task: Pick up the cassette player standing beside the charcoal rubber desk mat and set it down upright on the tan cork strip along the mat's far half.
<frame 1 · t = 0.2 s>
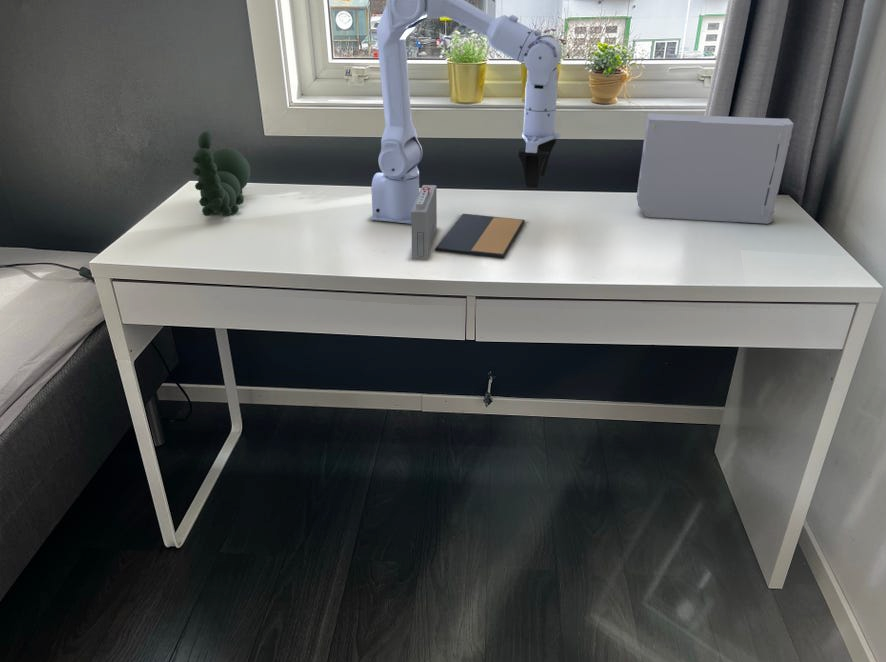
hand: (535, 181, 146), 10 cm above the table, tool pointing down, fingers open, 7 cm apart
game console: (701, 217, 158), on the table
cassette player: (424, 244, 145), on the table
toy figurine: (226, 208, 163), on the table
desk mat: (481, 236, 148), on the table
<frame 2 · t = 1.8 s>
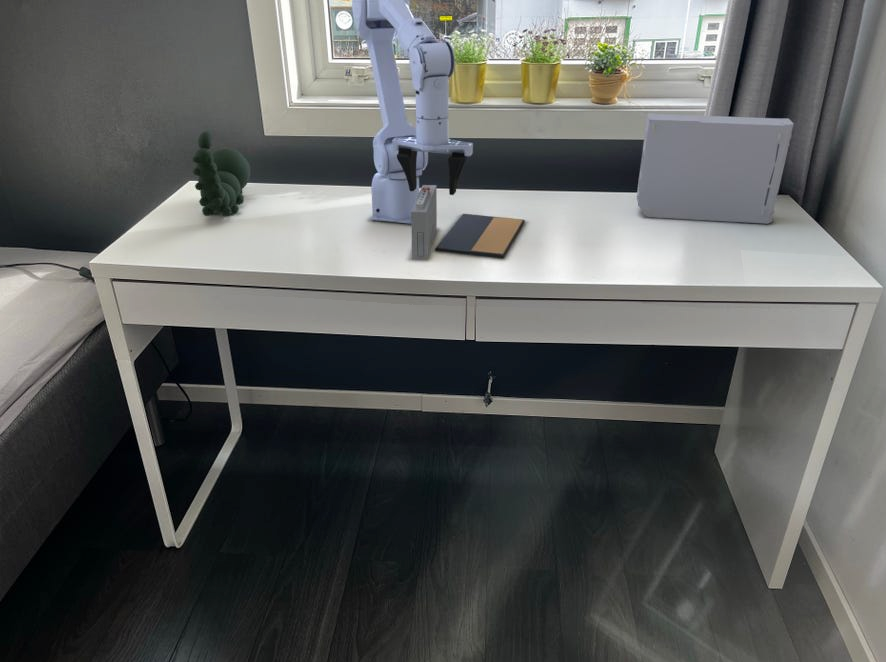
hand: (432, 191, 140), 10 cm above the table, tool pointing down, fingers open, 7 cm apart
nothing on the table moved.
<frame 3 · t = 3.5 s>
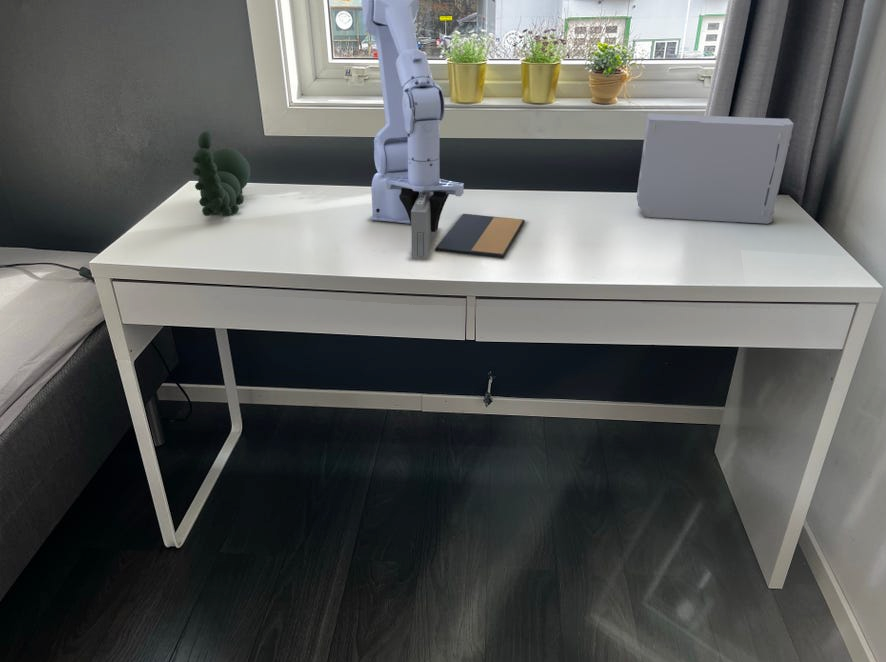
hand: (424, 229, 143), 3 cm above the table, tool pointing down, fingers closed on cassette player, 3 cm apart
cassette player: (425, 244, 145), on the table, touching gripper
everything else where it was.
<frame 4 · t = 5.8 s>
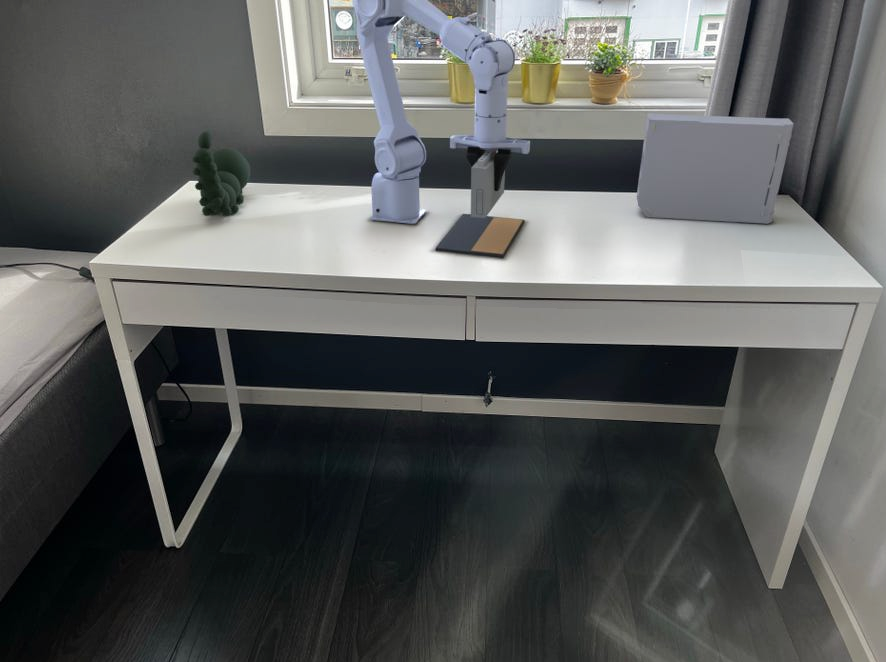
hand: (488, 188, 142), 10 cm above the table, tool pointing down, fingers closed on cassette player, 3 cm apart
cassette player: (488, 205, 144), point 7 cm above the table, touching gripper
everything else where it was.
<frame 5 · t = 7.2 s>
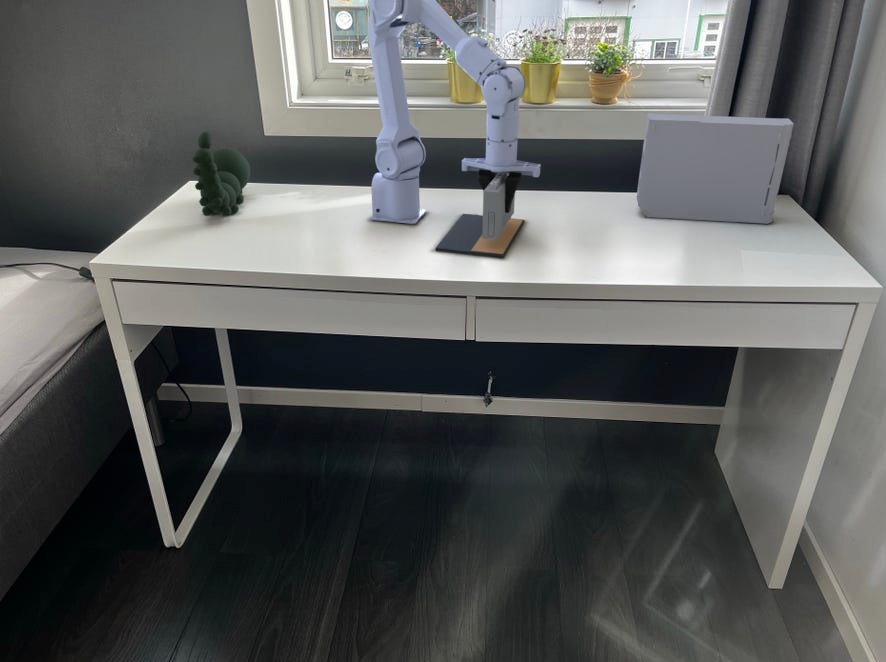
hand: (499, 210, 145), 6 cm above the table, tool pointing down, fingers closed on cassette player, 3 cm apart
cassette player: (498, 226, 146), point 2 cm above the table, touching gripper
everything else where it was.
when the fingers open (4 cm above the table, at t = 8.1 s): cassette player stays where it is, resting on desk mat.
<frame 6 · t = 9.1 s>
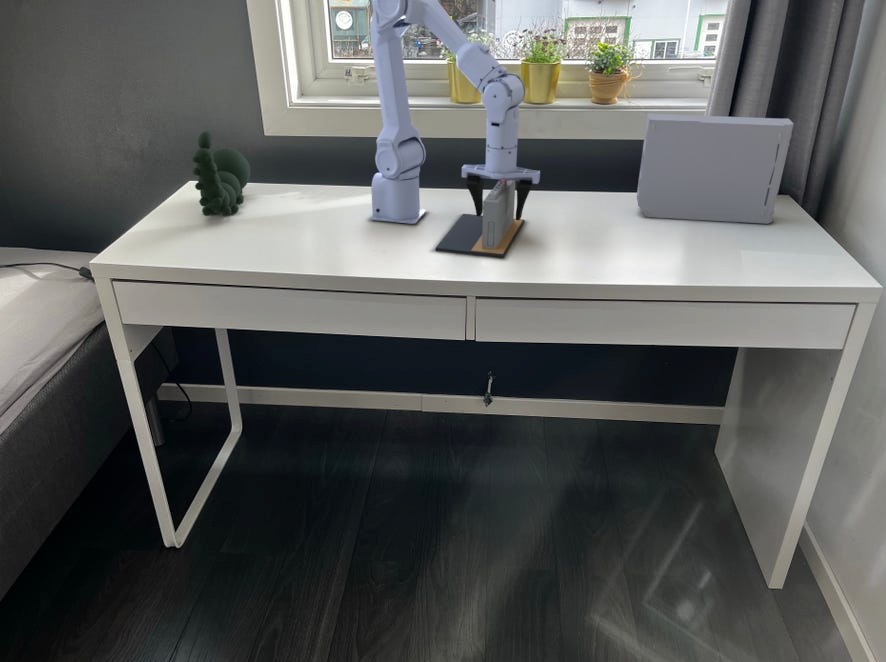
hand: (498, 216, 145), 4 cm above the table, tool pointing down, fingers open, 7 cm apart
cassette player: (498, 235, 147), point 1 cm above the table, touching desk mat
everything else where it was.
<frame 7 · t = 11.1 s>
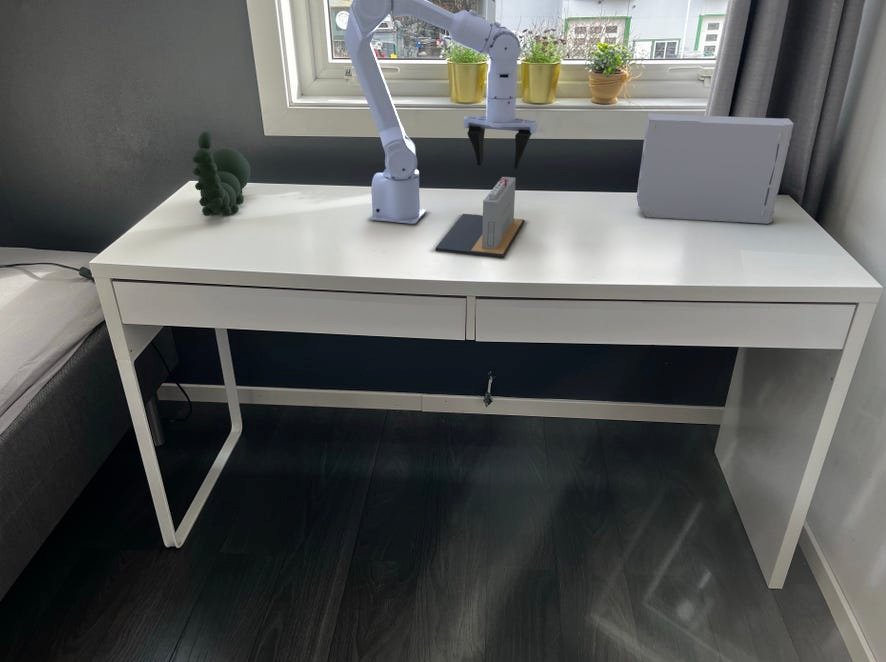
hand: (498, 166, 154), 10 cm above the table, tool pointing down, fingers open, 7 cm apart
nothing on the table moved.
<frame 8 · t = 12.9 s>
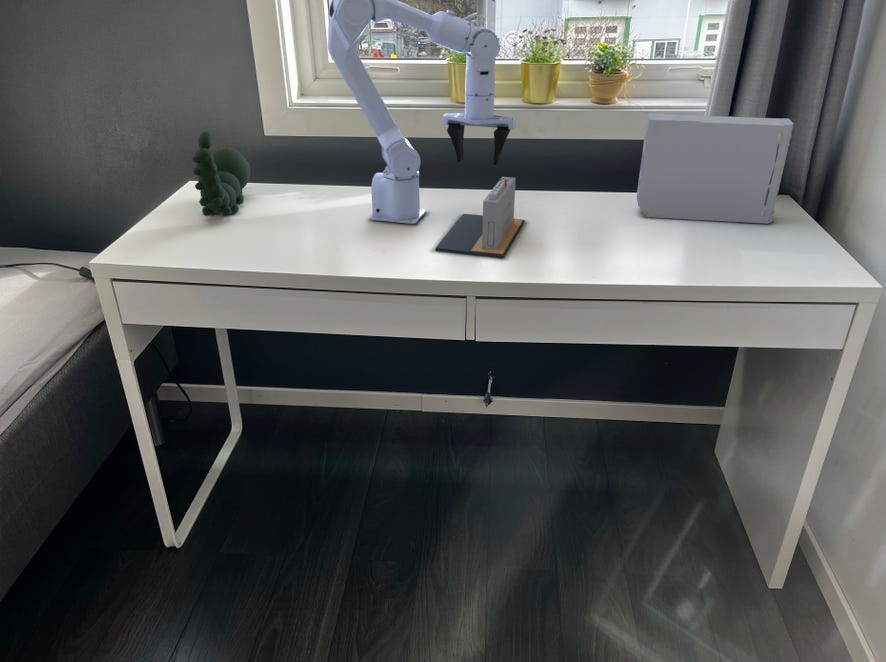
hand: (478, 162, 156), 10 cm above the table, tool pointing down, fingers open, 7 cm apart
nothing on the table moved.
at the end: cassette player 0.2 cm from the target spot on the desk mat, point 0.5 cm above the desk mat's base; cassette player tilted 0° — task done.
